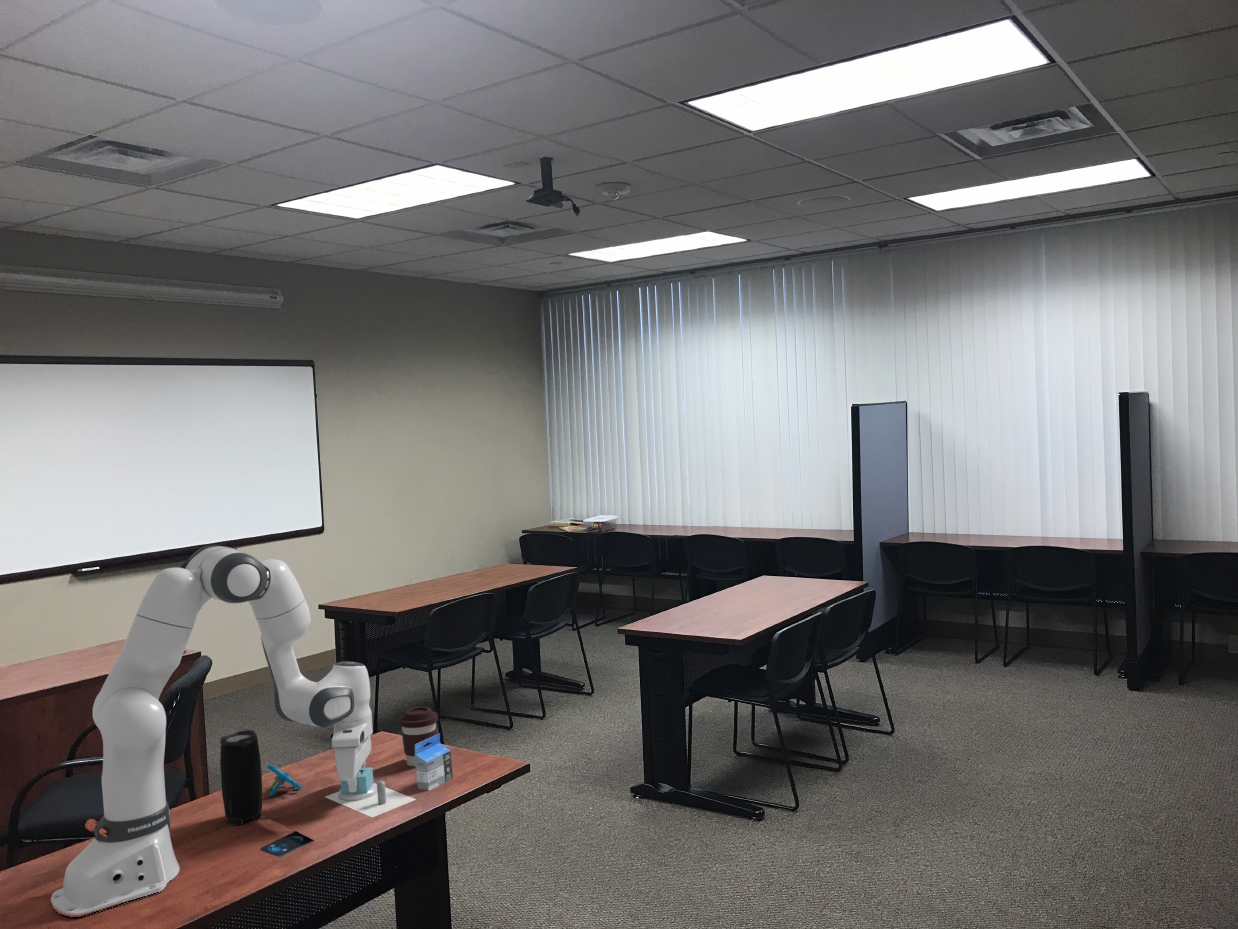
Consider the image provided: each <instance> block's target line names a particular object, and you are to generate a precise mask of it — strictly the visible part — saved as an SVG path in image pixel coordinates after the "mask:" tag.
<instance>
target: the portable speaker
mask: <svg viewBox="0 0 1238 929" xmlns="http://www.w3.org/2000/svg"><path fill="white" fill-rule="evenodd" d="M219 743H220V744H219V745H220V754H219V755H220V758H219V760H220V761H219V762H220V763H219V766H220V767H219V768H220V780H221V781H220V782H221V796H222V802H223V809H224V814H225V818H226V822H227V824H228V825H231V826H241V825H242V824H243V823H244V822H246V821H249V820H251V819H255V820H260V819H261V817H262V816H263V813H261V812H263V779H262V778H263V776H262V762H261V761H262V760H261V754H260V746H259V745H260V744H259V741H258V734H256V732H255V731H254V730H252V729H244V730H243V729H242V730H239V731H237V732H235V733H231V734H229V735H223V736H221V737H220V741H219Z"/></svg>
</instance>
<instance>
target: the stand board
mask: <svg viewBox="0 0 1238 929" xmlns="http://www.w3.org/2000/svg"><path fill="white" fill-rule="evenodd" d="M357 775H361V772H360V771H359V772H358V773H357ZM325 798H326V799H328V800H330V801H334V802H335V803H337V804H339V805H343V806H344V807H346V808H349V809H352V810H354V811H356V812H358V813H361V814H363V815H366V816H367V817H370V818H374V817H377V816H379V815H382V814H385V813H387V812H389V811H391V810H392V811H393V810H395V809H396V808H400V807H402V806H404V805H407V804H408V803H412V802H414V801H416V800H417V798H415V797H412V796H408V795H406V794H404V793H402V792H401V793H400V792H398V791H396V790H393V789H391V788H388V787H386V782H385V780H378V781H376V782H373V785H372V786H371V788H370V789H369V791H368V792H367V793H361V794H342V792H341V788H340V789H339V790H338V791H336V792H334V793H331V794H328V795H326V796H325Z"/></svg>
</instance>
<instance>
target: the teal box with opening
mask: <svg viewBox="0 0 1238 929" xmlns="http://www.w3.org/2000/svg"><path fill="white" fill-rule="evenodd" d="M373 769H374V768H373V767H372V766H371V767H365V768H360V770H359V771H360V772H361V775H357V777H356V781H357V783H358V788H357V790H356V792H349V786H348V783H347V781H340V789H341V792H342V794H361V793H367V792H368V791H369V789H370V788H371V786H372V785H373V783H374V771H373Z"/></svg>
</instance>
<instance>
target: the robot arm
mask: <svg viewBox="0 0 1238 929" xmlns="http://www.w3.org/2000/svg"><path fill="white" fill-rule="evenodd" d="M211 599H213V600H217V601H221V602H224V603H228V604H242V603H246V602H248V603H249V605H250V606H251V609H252V612H253V615H254V616H255V619H256V621H257V625H258V627H259V630H260V634H261V635H260V640H261V646H262V649H263V653H264V657H265V659H266V662H267V666H268V669H269V670H268V671H269V673H270V675H271V679H272V683H273V688H274V689H273V691H274V708H275V711H276V714H277V715H278V716H279V717H280V718H281V719H283V720H284V721H287V722H292V723H300V724H303V725H308V726H313V727H317V728H327V727H331V726H333V733H332V738H331V747H332V748H333V749H334V760H335V768H336V774H337V778H338V780H339V781H340V782H341V781H347V783H348V786H349V792H356V790H357V788H358V783H357V781H356V777H357V773H358V772H359V770H360V768H366V760H367V758H369V755H370V754H371V752H372V738H371V735H372V734H373V733H374V732H373V731H374V730H373V716H372V714H373V713H372V709H371V707H370V701H371V700H370V699H371V683H370V678H369V677H370V676H369V673H368V672H369V671H368V669H367V667H366V665H364V664H363V663H361V662H358V661H338V662H336V663H334V664H333V665H332V669H331V670H330V671H329V672H328V673H327V674H326V676H324V677H323V678H322V679H321V680H319V681H317V682H316V681H312V680H310V679H308V678H307V677H305V676H304V675H303V674H302V673H301V671H300V667H299V664H298V660H297V658H296V654H295V650H294V643H295V642H296V641H298V640H300V639H301V638H302V637H304V636H305V634H306V633H307V631H308V630H309V628H310V625H311V622H312V621H311V612H310V608H309V605H308V602H307V600H306V597H305V595H304V593H303V590H302V587H301V586H300V583H299V582H298V580H297V578H296V577H295V575H294V573H293V572H292V569H291V568H290V567H289V565H287V563H286V562H285V561H283V560H281V559H276V558H269V559H265V560H263V559H262V560H261V561H260V560H258V559H257V558H255V557H254V556H252V555H251V554H248V553H245V552H242V551H240V550H238V549H237V548H233V547H229V546H223V545H218V544H217V545H216V544H213V545H207V546H203V547H202V548H200V549H198V550H196V551H195V552H194V553H193V554H191V556H190V557H189V558H188V559H187V560H186V561H185V562H184V563H183V564H182V565H180V567H167V568H165V569H163V570H160V571H159V572H158V573H157V575H156V576H155V578H154V579H153V580H152V581H151V584H150V585H149V587H148V589H147V591H146V592H145V594H144V596H143V598H142V600H141V602H140V604H139V606H138V609H137V612H136V614H135V617H134V619H133V622H132V623H131V626H130V629H129V631H128V634H127V637H126V640H125V641H124V644H123V647H122V650H121V652H120V654H119V656H118V657H117V660H116V661H115V663H114V664H113V666H112V668H111V670H110V672H109V674H108V675H107V677H106V679H105V681H104V683H103V684H102V687H101V689H100V691H99V693H98V694H97V695H96V697H95V699H94V702H93V706H92V719H93V722H94V724H95V726H96V727H97V728H98V729H99V731H100V734H101V739H102V746H103V748H102V750H103V751H102V755H103V756H102V757H103V758H102V759H103V760H102V772H101V773H102V774H101V791H102V802H103V805H102V806H103V815H102V817H101V819H99V821H97V820H96V819H94V818H90V819H87V820H86V823H85V824H84V826H85V829H86V830H88V831H89V832H93V833H94V838H93V839H92V840H91V842H90V843H89V844H88V845H87V846H86V847H85V848H84V849H82V851H81V852H80V853H78V854H77V856H75V857H74V859H72V860H71V861H70V862H69V864H68V865H67V867H66V868H65V873H64V877H63V886H62V887H61V888H59V889H57V890H55V891H54V892H53V893H52V895H51V897H50V904H51V903H52V905H53V906H54V907H55V908H56V909H57V910H59V911H60V912H62V913H65V914H70V915H81V914H85V913H89V912H92V911H96V910H99V909H102V908H105V907H108V906H111V905H114V904H118V903H121V902H125V901H128V900H132V899H136V898H139V897H143V896H146V897H148V896H147V895H150V894H153V893H156V892H159V893H161V892H163V891H164V890H165V889H166V888H165V887H167V886H168V884H167V883H170V882H171V881H173V879H175V878H176V877H177V876H178V874H179V873H180V871H181V870H180V869H181V867H180V865H179V862H178V860H177V857H176V855H175V852H174V849H173V848H174V847H173V843H172V840H171V833H170V829H171V812H170V806H169V802H168V801H167V799H166V786H165V785H166V783H165V771H164V770H165V768H164V767H165V766H164V763H165V762H164V761H165V749H166V731H167V730H166V728H167V714H166V711H165V708H164V705H163V704H162V703H161V702H160V701H159V699H160V697H161V694H162V692H163V689H164V687H165V686H166V684H167V683H168V681H169V679H170V678H171V676H172V674H173V673H174V671H175V670H176V669H177V668H178V667H179V666H180V664H181V661H182V657H183V656H184V653H185V650H186V648H187V645H188V642H189V639H190V637H191V634H192V632H193V628H194V626H195V623H196V621H197V620H196V619H197V617H198V615H199V614H198V613H200V610H201V609H202V607H203V606H204V605H205V604H206V603H207V602H208V601H209V600H211ZM170 880H171V881H170ZM169 881H170V882H169ZM166 885H167V886H166ZM164 888H165V889H164ZM163 889H164V890H163ZM162 890H163V891H162ZM160 891H161V892H160ZM156 894H157V893H156ZM153 895H154V894H153ZM150 896H151V895H150ZM56 897H58V898H56ZM143 898H144V897H143ZM71 910H72V911H71Z"/></svg>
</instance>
